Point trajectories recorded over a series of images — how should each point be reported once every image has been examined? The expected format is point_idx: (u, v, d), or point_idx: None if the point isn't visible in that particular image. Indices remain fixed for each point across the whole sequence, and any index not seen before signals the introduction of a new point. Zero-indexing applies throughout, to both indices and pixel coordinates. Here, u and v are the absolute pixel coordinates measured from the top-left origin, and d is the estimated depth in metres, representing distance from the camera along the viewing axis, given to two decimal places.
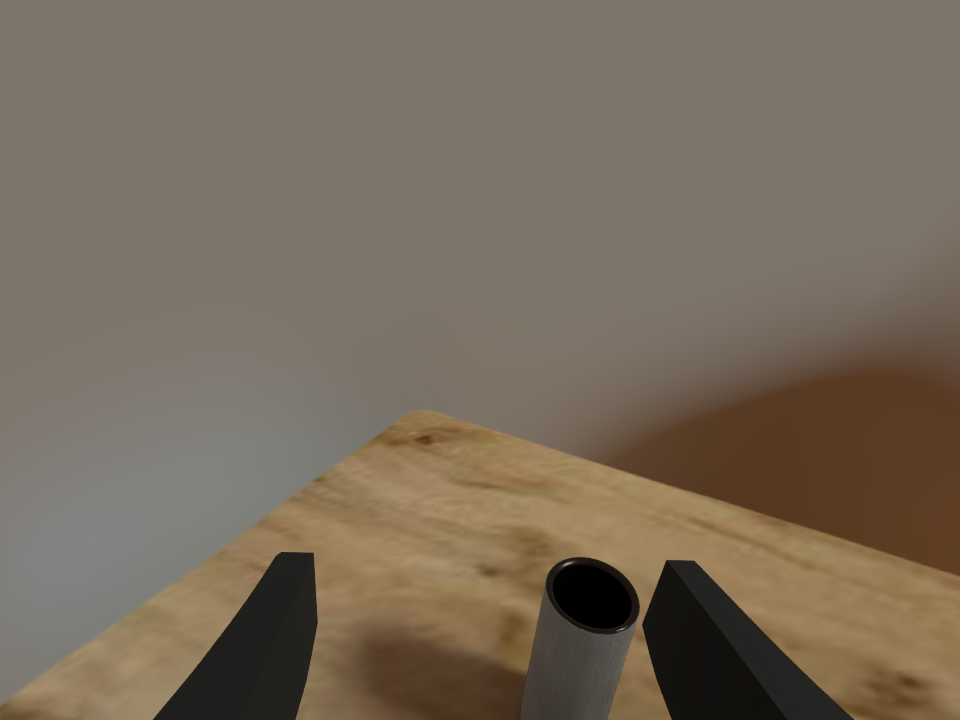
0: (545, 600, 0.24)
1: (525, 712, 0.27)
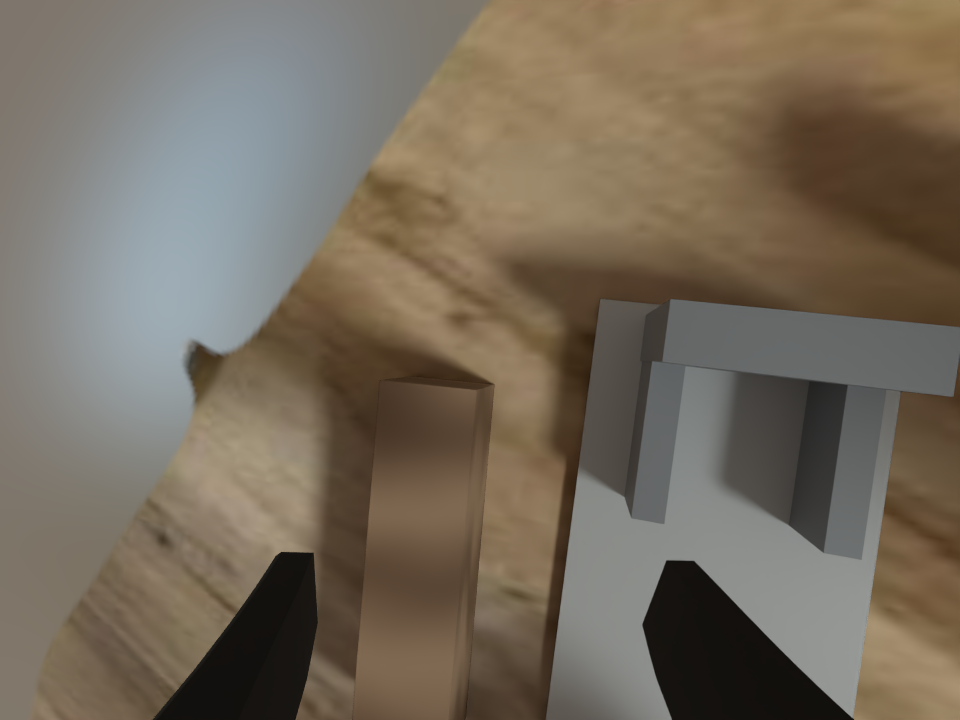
0: None
1: None
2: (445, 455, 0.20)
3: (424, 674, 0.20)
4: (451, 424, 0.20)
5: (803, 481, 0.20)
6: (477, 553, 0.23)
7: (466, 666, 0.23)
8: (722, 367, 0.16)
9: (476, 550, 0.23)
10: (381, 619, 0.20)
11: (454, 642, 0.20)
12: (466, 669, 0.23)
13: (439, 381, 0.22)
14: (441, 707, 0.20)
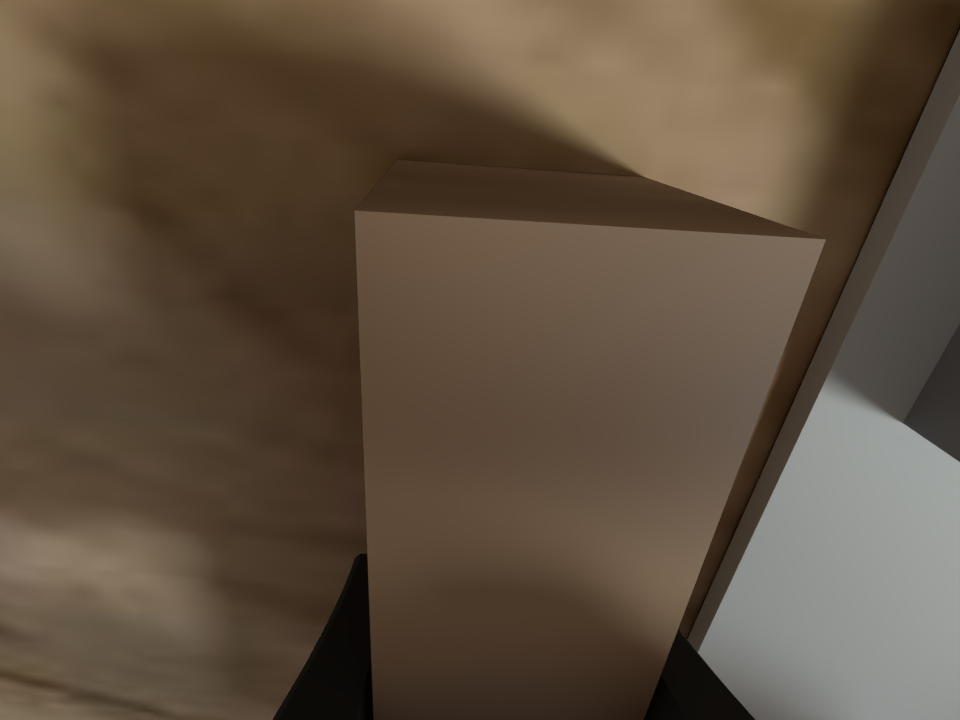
0: None
1: None
2: (645, 480, 0.05)
3: None
4: (686, 380, 0.05)
5: None
6: None
7: None
8: None
9: None
10: None
11: None
12: None
13: (526, 182, 0.06)
14: None
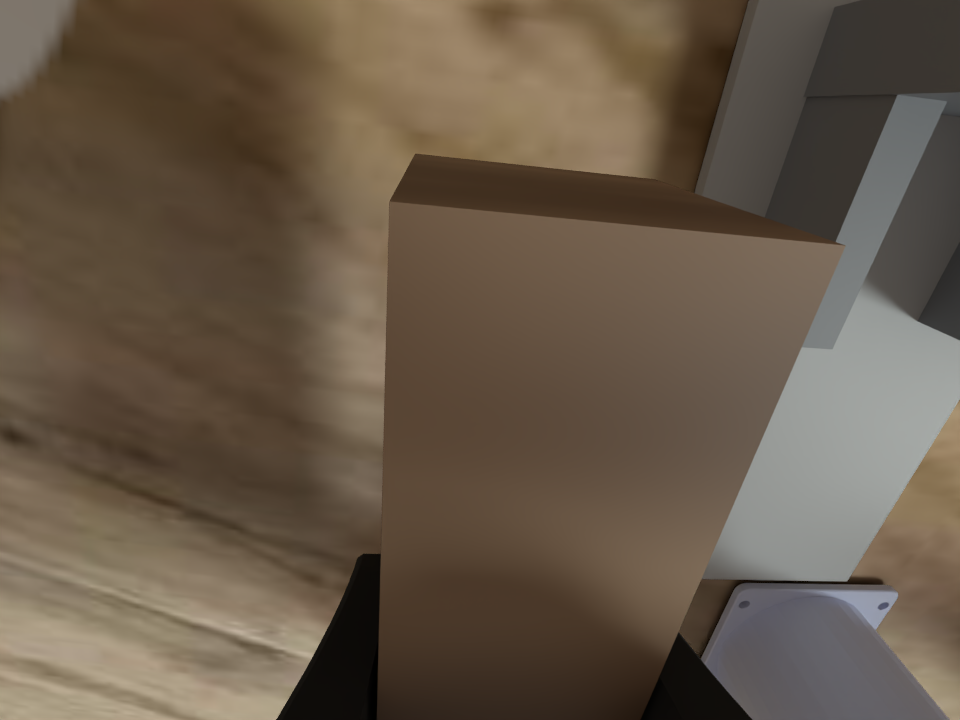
0: None
1: None
2: (659, 477, 0.06)
3: None
4: (703, 380, 0.05)
5: None
6: None
7: None
8: None
9: None
10: None
11: None
12: None
13: (546, 180, 0.07)
14: None
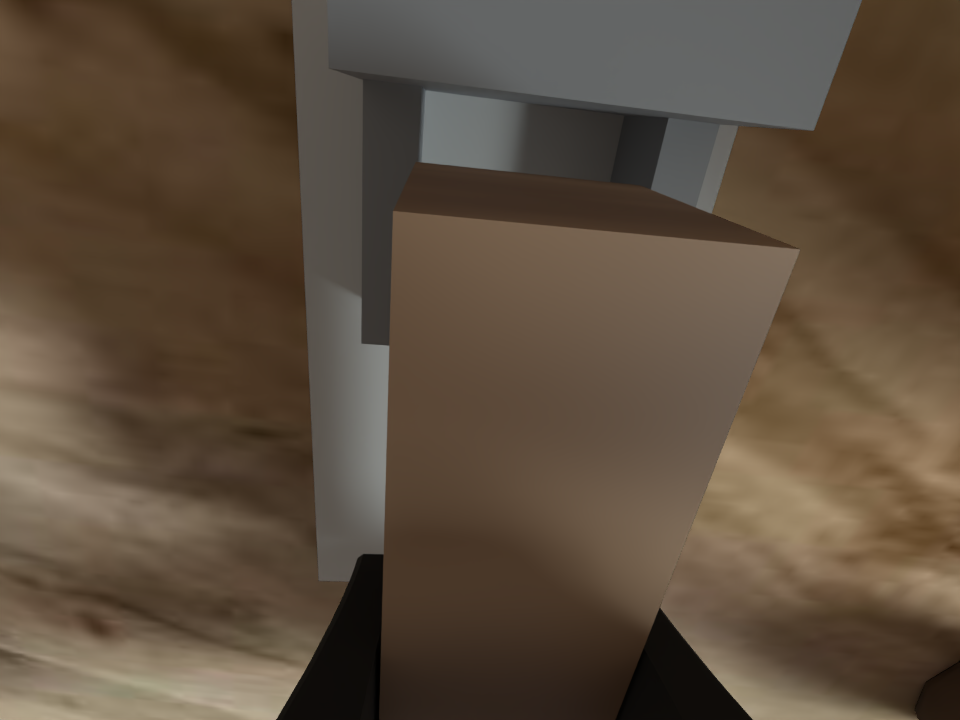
0: None
1: None
2: (637, 460, 0.06)
3: None
4: (675, 370, 0.06)
5: None
6: None
7: None
8: (447, 80, 0.08)
9: None
10: None
11: None
12: None
13: (536, 188, 0.07)
14: None
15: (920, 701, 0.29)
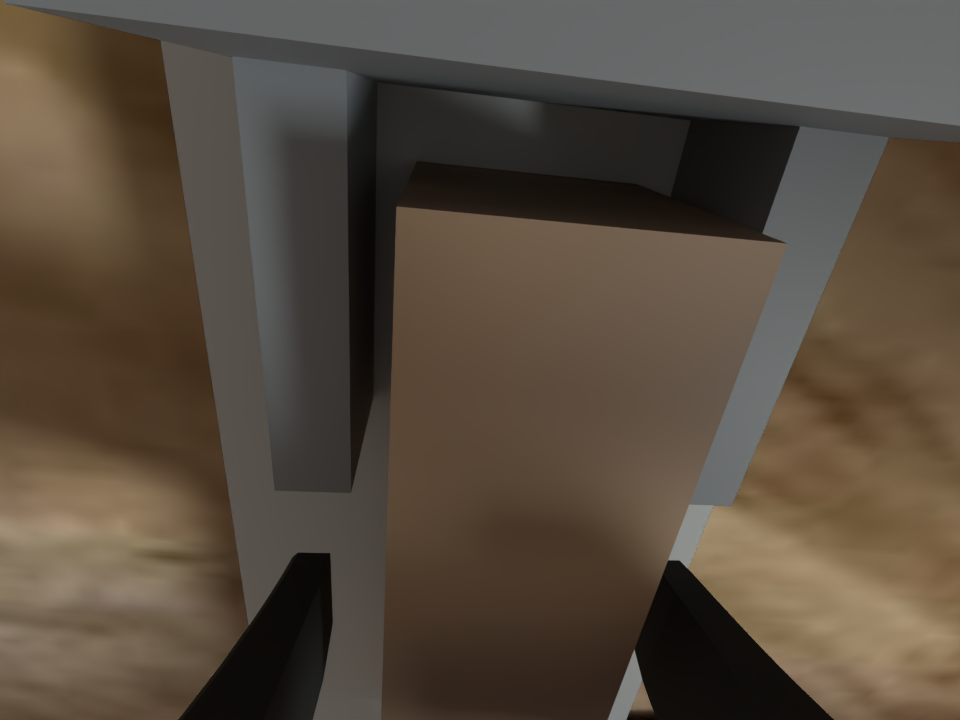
0: None
1: None
2: (632, 449, 0.06)
3: None
4: (668, 360, 0.06)
5: None
6: None
7: None
8: (347, 38, 0.03)
9: None
10: None
11: None
12: None
13: (534, 186, 0.07)
14: None
15: None
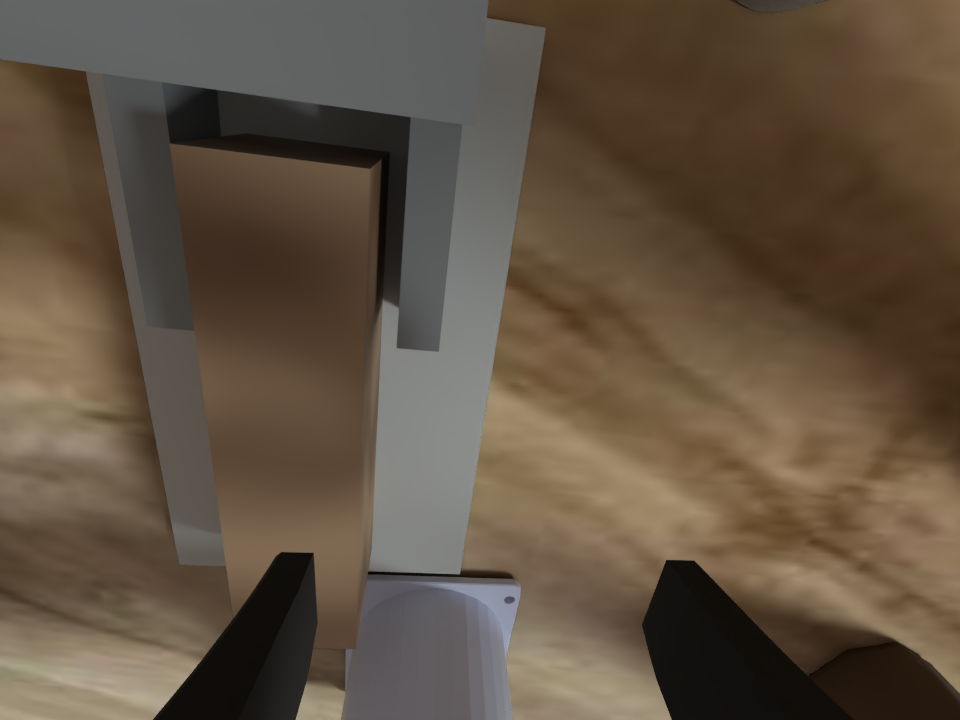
0: None
1: None
2: (322, 283, 0.12)
3: (322, 555, 0.16)
4: (327, 231, 0.11)
5: None
6: (376, 397, 0.17)
7: (370, 516, 0.19)
8: (104, 70, 0.08)
9: (375, 396, 0.17)
10: (251, 507, 0.14)
11: (358, 519, 0.15)
12: (370, 518, 0.19)
13: (293, 146, 0.13)
14: (347, 582, 0.16)
15: None
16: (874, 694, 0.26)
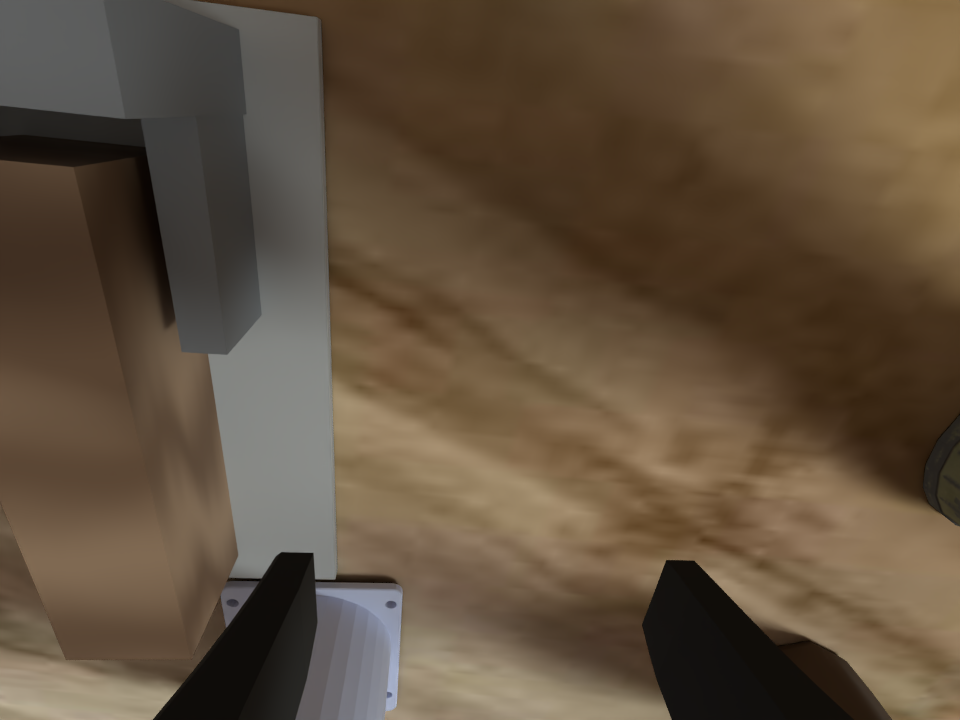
0: None
1: None
2: (54, 287, 0.11)
3: (130, 566, 0.15)
4: (45, 233, 0.11)
5: None
6: (201, 402, 0.17)
7: (217, 523, 0.19)
8: None
9: (195, 401, 0.16)
10: (41, 518, 0.14)
11: (160, 528, 0.15)
12: (218, 525, 0.19)
13: (44, 146, 0.12)
14: (164, 592, 0.16)
15: None
16: None
